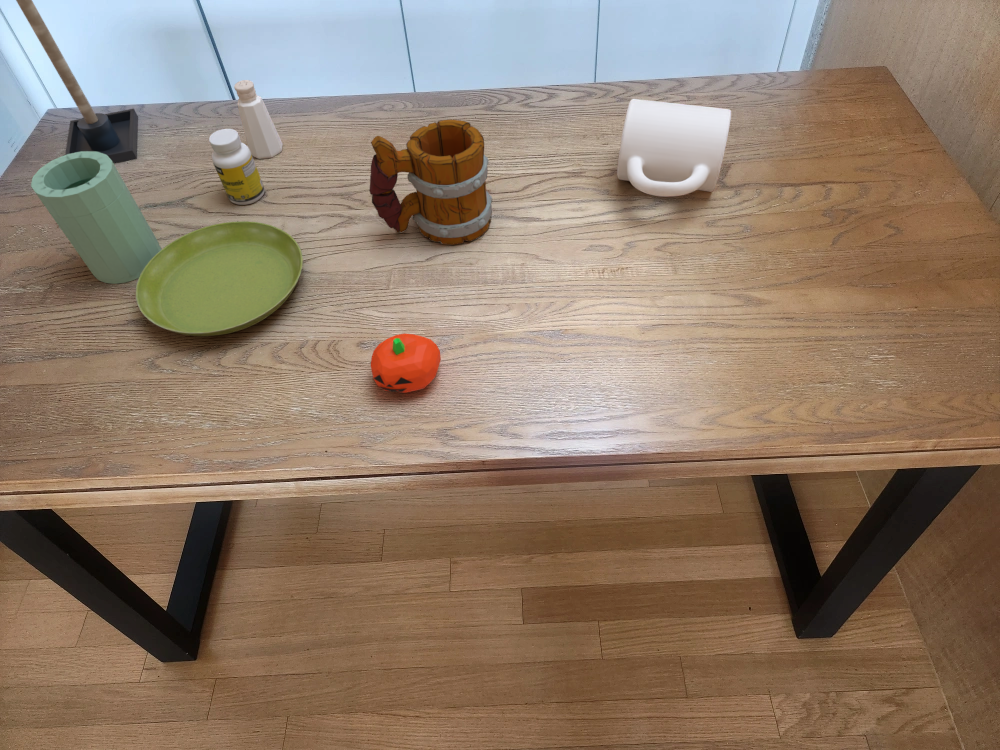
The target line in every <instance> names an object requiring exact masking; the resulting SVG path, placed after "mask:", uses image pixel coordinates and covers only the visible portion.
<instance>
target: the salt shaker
mask: <svg viewBox="0 0 1000 750" xmlns="http://www.w3.org/2000/svg"><path fill="white" fill-rule="evenodd" d="M233 88H234V90H235V92H236V94H237V97H238V99H237V110H238V113H239V117H240V121H241V125H242V129H243V132H244V138H245V141H246V145H247V146H248V148H249V149H250V152H251V154H252V157H253V158H255V159H258V160H265V159H273V158H274V157H275V156H278V155H279V154H280V153H282V152H283V140H282V138H281V136H280V135H279V132H278V130H277V128H276V125H275V123H274V121H273V120H272V117H271V114H270V113H269V111H268V108H267V106H266V104H265V102H264V100H263V98H262V96H261V95H258V94H257V93H256V88H255V85H254V81H252V80H250V79H241V80H239V81H237V82H236V83H235V84H234V86H233Z"/></svg>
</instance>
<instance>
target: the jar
mask: <svg viewBox="0 0 1000 750" xmlns="http://www.w3.org/2000/svg"><path fill="white" fill-rule="evenodd" d="M30 187H31V188H32V190H33V192H34V194H35V195H36V196H37V197H38V199H39V200H40V201H41V203H42V205H43V206H44V207H45V208H46V210H47V211H48V213H49V214H50V216H51V218H52V219H53V221H55V223H56V224H57V226H58V227H59V228H60V230H61V231H62V233H63V234H64V236H65V237H66V238H67V240H68V241H69V243H70V245H71V246H72V247H73V248H74V250H75V252H77V254H78V255H79V257H80V258H81V259H82V261H83V262H84V264H85V266H86V267H87V269H89V271H90V272H91V274H92V275H93V277H94V278H95V279H96V280H97V281H100V282H103V283H105V284H110V285H112V284H113V285H114V284H115V285H118V284H125V283H129V282H133V281H135V280H138V279H139V277H140V274H141V273H142V271H143V269H144V268H145V266H146V265H147V264H148V262H149V261H150V260H151V259H152V258H153V257H154V256H155V255H156V254H157V253H158V252H159V251H160V250H162V249H163V248H162V247H161V245H160V242H159V240H158V239H157V236H156V235H155V233H154V231H153V230H152V228H151V226H150V224H149V223H148V221H147V219H146V217H145V215H144V214H143V212H142V211H141V209H140V207H139V205H138V203H137V202H136V200H135V198H134V197H133V195H132V192H131V191H130V189H129V188H128V186H127V184H126V182H125V181H124V178H123V177H122V176H121V174H120V172H119V170H118V169H117V167H116V165H115V164H114V163H113V162H112V160H111V159H110V158H109V157H108V156H107V155H106V154H103V153H100V152H96V151H81V152H76V153H71V154H67V155H65V154H64V155H62V156H59V157H57V158H55V159H52V160H51V161H49V162H48V163H45V164H44V165H43V166H41V167H40V168H39V169H37V172H35V174H34V175H33V176H32V177H31V182H30Z"/></svg>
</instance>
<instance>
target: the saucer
mask: <svg viewBox="0 0 1000 750" xmlns="http://www.w3.org/2000/svg"><path fill="white" fill-rule="evenodd" d="M161 249H162V250H160V251H159V252H158V253H157V254H156V255H155V256H154V257H153V258H152V259H151V260H150V261H149V262H148V264H147V265H146V266H145V268H144V269H143V271H142V273H141V274H140V277H139V278H138V279H137V282H136V287H135V300H136V304H137V307H138V309H139V310H140V312H141V314H142V315H143V316H144V317H145V318H146V320H148V321H149V322H150V323H152V324H154V325H156V326H157V327H159V328H162V329H164V330H167V331H168V332H169V331H170V332H172V333H176V334H180V335H186V336H191V337H192V336H193V337H211V336H212V337H213V336H214V337H215V336H220V335H221V336H222V335H227V334H232V333H235V332H239V331H242V330H245V329H247V328H250V327H252V326H254V325H256V324H258V323H260V322H262V321H263V320H265V319H266V318H268V317H269V316H271V315H272V314H273V313H274V312H276V311H277V310H278V309H279V308H280V307H281V306H283V304H284V303H285V302H286V301H287V300H288V299H289V297H290V296H291V295H292V293H293V291H294V290H295V288H296V287H297V284H298V282H299V280H300V277H301V274H302V270H303V266H304V259H303V252H302V250H301V247H300V245H299V243H298V242H297V241H296V239H295V238H294V237H293V236H292V235H291V234H290V233H288V232H287V231H285V230H284V229H281V228H280V227H277V226H275V225H273V224H268V223H264V222H260V221H259V222H258V221H248V220H247V221H246V220H244V221H243V220H242V221H241V220H237V221H228V222H221V223H216V224H211V225H207V226H203V227H202V228H201V227H200V228H198V229H195V230H193V231H190V232H188V233H186V234H184V235H182V236H180V237H178V238H177V239H175V240H173V241H172V242H170V243H169V244H167V245H165V247H163V248H161Z"/></svg>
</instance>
